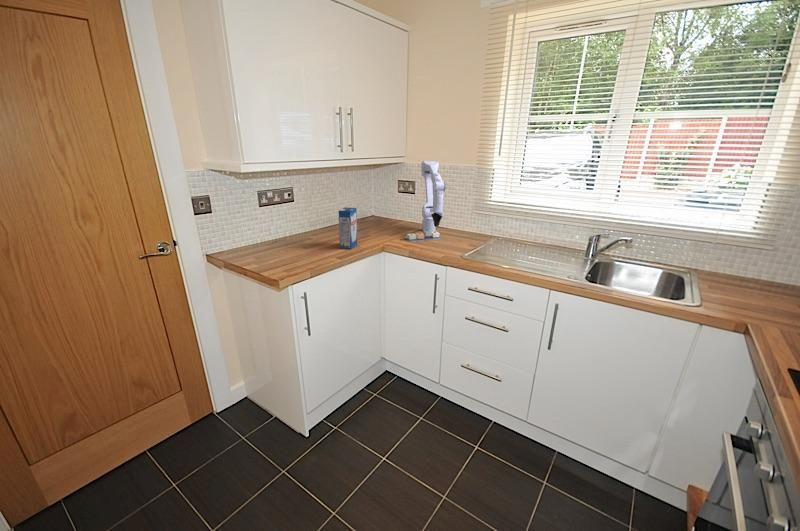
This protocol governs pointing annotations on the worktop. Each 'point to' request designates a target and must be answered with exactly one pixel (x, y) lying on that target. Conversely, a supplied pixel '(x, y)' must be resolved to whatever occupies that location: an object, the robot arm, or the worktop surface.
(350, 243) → the milk carton
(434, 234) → the key
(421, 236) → the key
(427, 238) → the keypad board
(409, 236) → the key
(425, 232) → the key
